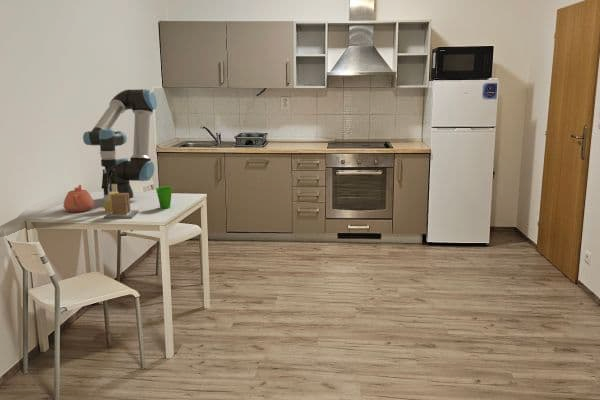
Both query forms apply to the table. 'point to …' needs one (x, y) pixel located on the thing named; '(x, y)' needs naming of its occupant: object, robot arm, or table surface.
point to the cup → (164, 196)
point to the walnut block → (120, 203)
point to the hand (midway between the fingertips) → (111, 198)
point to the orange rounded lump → (78, 200)
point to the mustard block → (109, 203)
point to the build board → (129, 215)
